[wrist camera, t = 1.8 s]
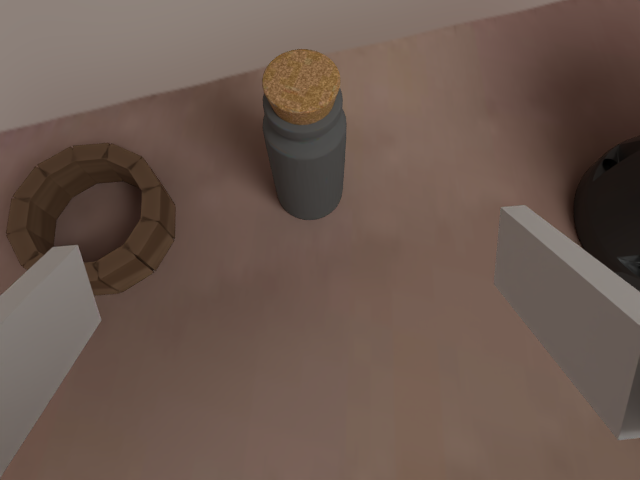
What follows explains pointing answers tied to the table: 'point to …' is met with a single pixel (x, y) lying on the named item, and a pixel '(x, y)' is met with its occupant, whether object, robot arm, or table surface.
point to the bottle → (305, 132)
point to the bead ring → (73, 178)
